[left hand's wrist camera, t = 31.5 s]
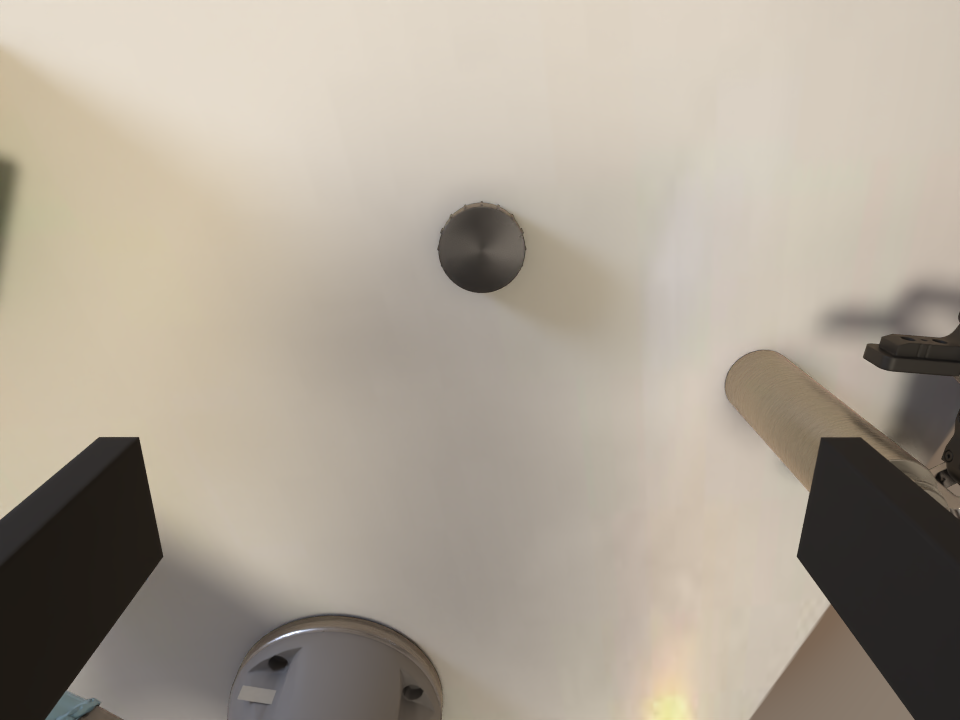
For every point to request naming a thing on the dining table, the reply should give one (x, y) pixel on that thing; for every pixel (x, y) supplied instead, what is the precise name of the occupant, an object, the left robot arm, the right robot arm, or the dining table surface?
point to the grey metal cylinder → (806, 417)
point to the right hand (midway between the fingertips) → (848, 433)
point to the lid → (481, 247)
